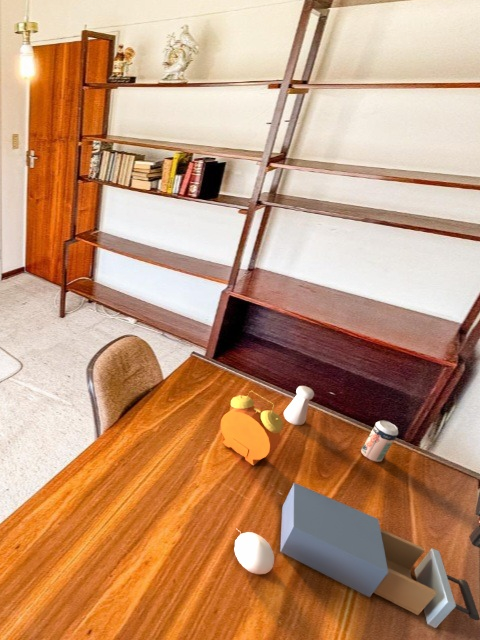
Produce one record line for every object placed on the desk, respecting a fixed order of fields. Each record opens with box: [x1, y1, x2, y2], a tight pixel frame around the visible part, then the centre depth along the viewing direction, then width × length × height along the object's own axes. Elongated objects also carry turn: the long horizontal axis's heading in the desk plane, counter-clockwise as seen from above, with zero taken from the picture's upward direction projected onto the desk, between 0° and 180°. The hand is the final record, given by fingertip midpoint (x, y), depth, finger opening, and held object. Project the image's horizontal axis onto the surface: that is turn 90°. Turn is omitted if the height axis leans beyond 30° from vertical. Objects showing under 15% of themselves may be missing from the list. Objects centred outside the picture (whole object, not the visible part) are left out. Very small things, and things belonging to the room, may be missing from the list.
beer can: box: [360, 420, 399, 463], centre depth 109 cm, size 5×5×12 cm
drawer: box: [373, 528, 480, 629], centre depth 79 cm, size 19×11×8 cm, turn 57°
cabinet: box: [279, 482, 388, 598], centre depth 86 cm, size 16×13×10 cm
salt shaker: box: [283, 385, 315, 426], centre depth 120 cm, size 6×6×13 cm
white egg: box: [233, 529, 275, 575], centre depth 84 cm, size 10×7×7 cm
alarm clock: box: [220, 390, 284, 466], centre depth 107 cm, size 13×6×20 cm, turn 34°
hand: (477, 544), depth 73 cm, fingers closed
